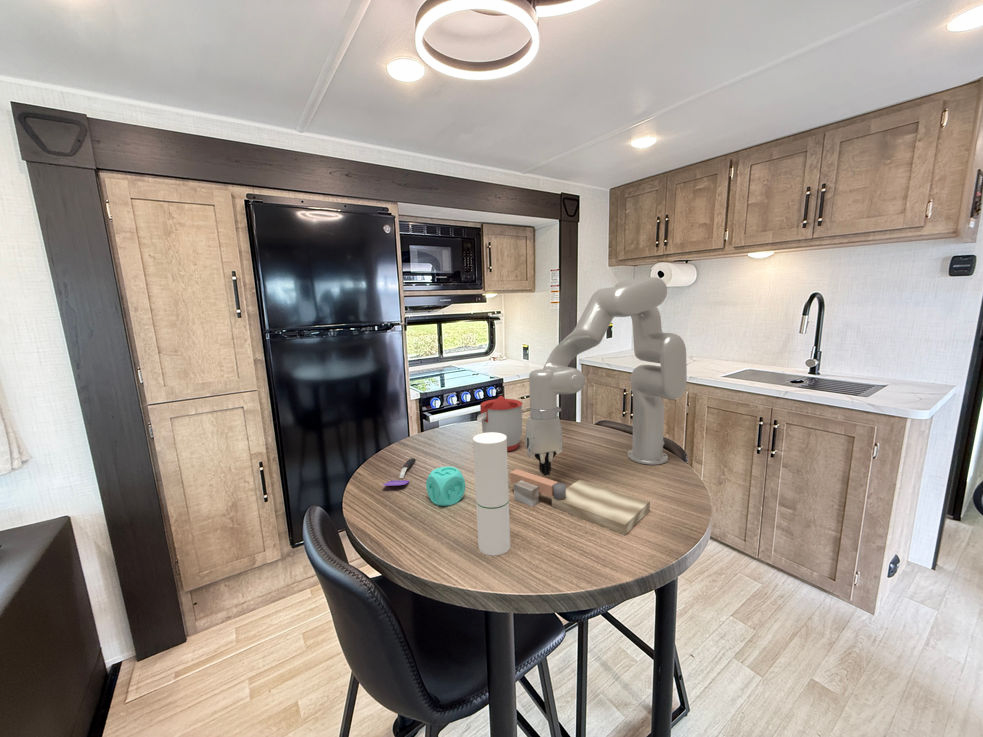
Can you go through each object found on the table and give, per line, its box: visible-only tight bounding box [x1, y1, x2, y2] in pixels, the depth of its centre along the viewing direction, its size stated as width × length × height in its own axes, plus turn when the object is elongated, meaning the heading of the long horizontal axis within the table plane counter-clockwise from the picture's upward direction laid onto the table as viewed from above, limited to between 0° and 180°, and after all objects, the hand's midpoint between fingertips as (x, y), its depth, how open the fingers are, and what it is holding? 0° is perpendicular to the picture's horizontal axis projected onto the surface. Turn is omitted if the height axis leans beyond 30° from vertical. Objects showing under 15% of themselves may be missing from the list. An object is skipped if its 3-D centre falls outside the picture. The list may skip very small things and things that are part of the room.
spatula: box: [382, 457, 416, 487], centre depth 126 cm, size 24×7×2 cm, turn 177°
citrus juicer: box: [476, 395, 523, 452], centre depth 145 cm, size 16×17×20 cm
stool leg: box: [509, 468, 567, 499], centre depth 106 cm, size 17×3×3 cm, turn 48°
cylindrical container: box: [472, 432, 511, 557], centre depth 85 cm, size 7×7×25 cm
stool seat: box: [513, 479, 651, 536], centre depth 102 cm, size 17×30×4 cm, turn 46°
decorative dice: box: [425, 466, 466, 507], centre depth 108 cm, size 8×8×8 cm
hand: (545, 473), depth 114 cm, fingers closed
